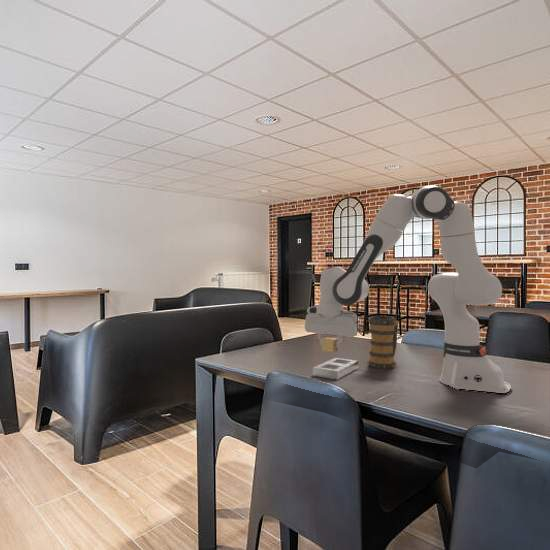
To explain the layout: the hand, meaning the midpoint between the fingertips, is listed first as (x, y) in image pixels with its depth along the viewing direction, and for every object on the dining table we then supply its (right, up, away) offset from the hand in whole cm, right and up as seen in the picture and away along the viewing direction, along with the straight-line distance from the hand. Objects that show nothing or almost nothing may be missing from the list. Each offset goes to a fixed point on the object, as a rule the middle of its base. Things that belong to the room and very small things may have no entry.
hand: (329, 346), depth 154 cm
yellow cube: (0, -2, 0) cm, 2 cm away
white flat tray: (+3, -11, +5) cm, 12 cm away
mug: (+25, -11, +17) cm, 32 cm away
